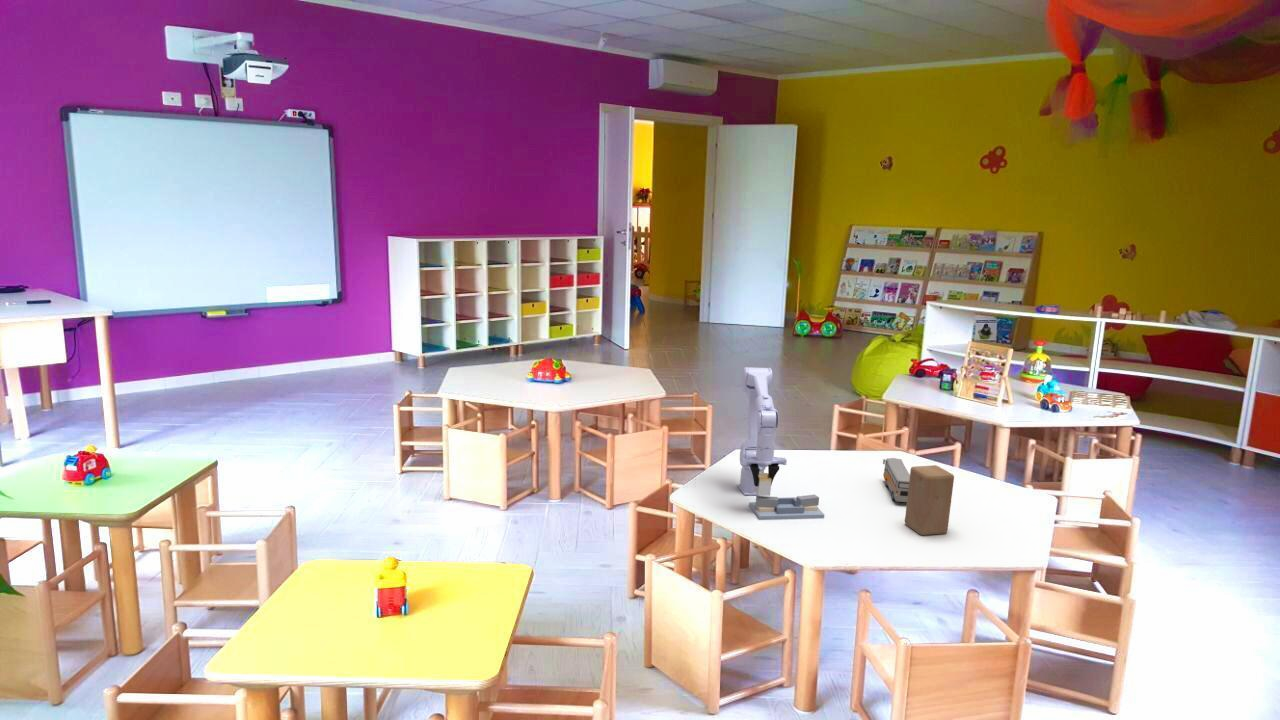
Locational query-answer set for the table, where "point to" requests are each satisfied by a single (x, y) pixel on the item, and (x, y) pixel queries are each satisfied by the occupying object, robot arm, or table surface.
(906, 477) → the toy bus
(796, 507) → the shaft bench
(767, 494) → the tan and white block
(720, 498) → the table surface
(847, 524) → the table surface
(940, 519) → the wooden block
